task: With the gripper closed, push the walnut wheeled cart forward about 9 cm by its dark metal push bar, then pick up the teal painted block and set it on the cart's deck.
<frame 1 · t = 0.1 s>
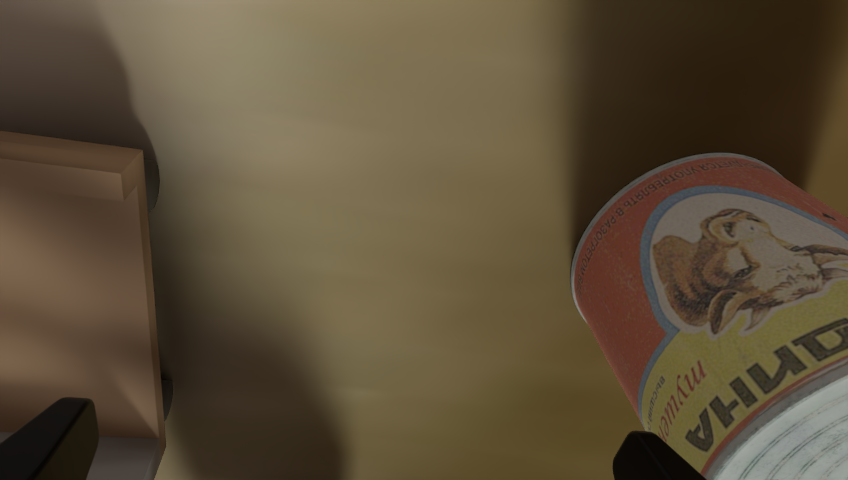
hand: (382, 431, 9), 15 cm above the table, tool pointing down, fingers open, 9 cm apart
canned food: (679, 256, 27), on the table
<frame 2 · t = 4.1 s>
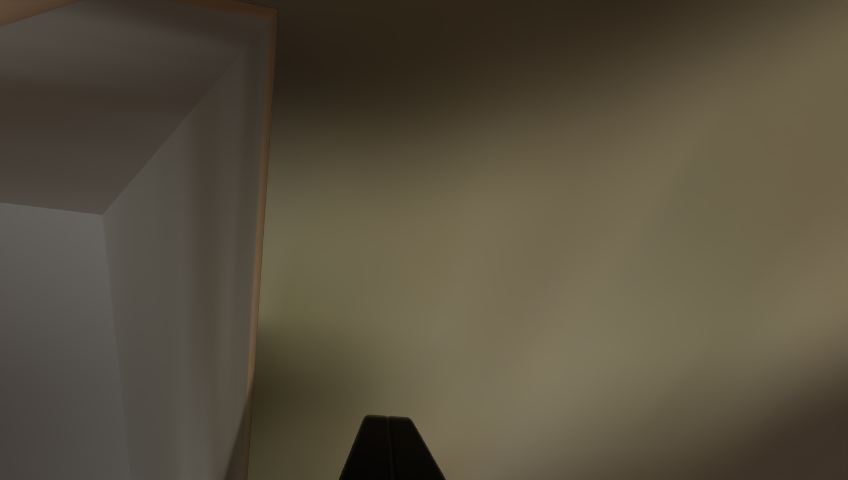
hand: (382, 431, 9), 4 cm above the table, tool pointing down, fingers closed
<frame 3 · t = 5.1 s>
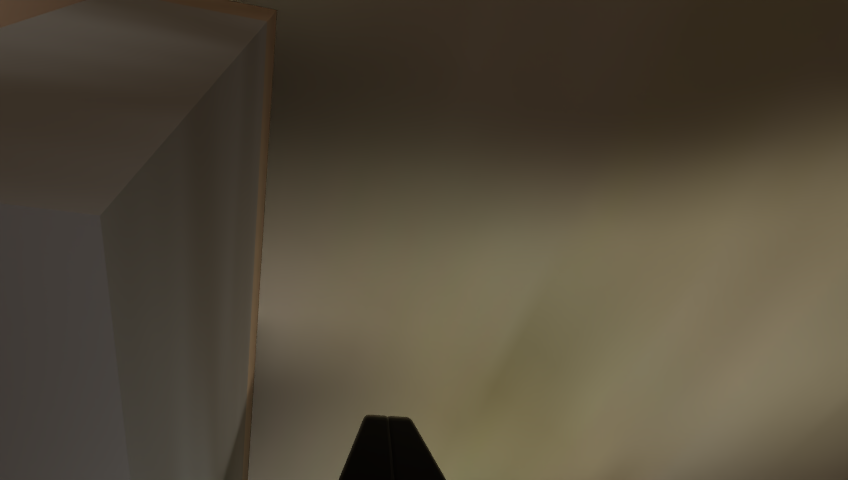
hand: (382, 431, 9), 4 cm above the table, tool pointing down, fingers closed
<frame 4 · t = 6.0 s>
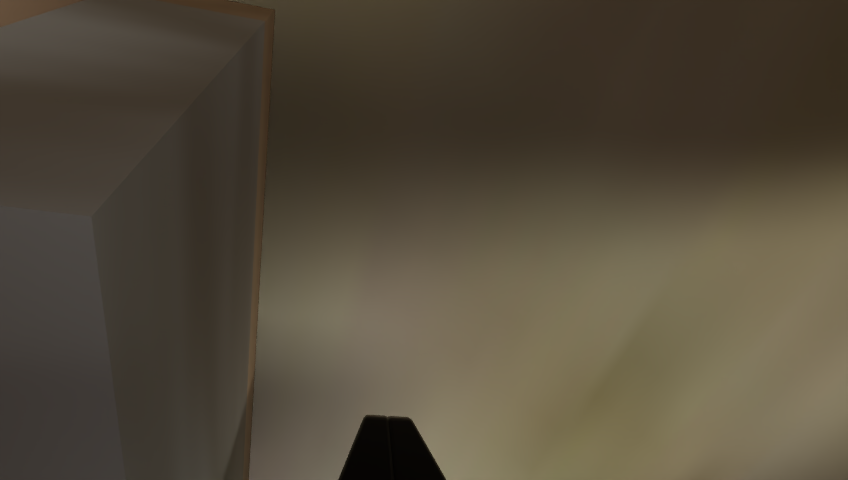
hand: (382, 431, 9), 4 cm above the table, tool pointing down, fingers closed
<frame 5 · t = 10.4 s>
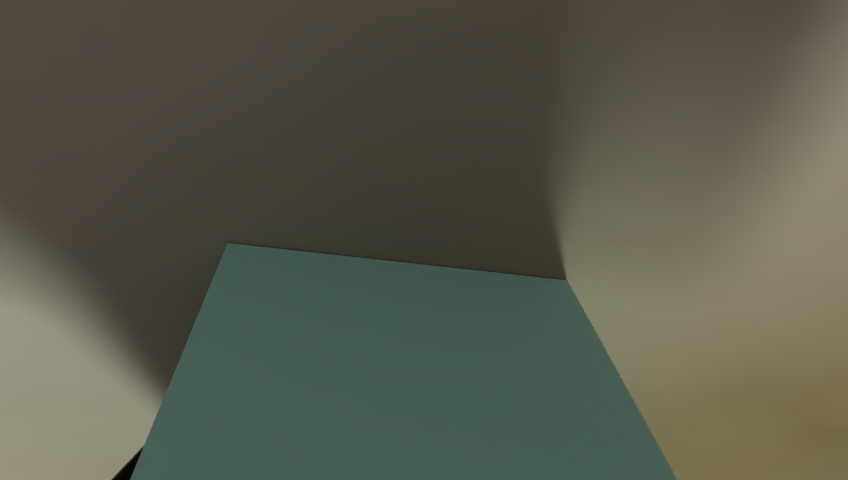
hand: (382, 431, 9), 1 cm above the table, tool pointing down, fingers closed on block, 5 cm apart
block: (381, 384, 10), on the table, touching gripper
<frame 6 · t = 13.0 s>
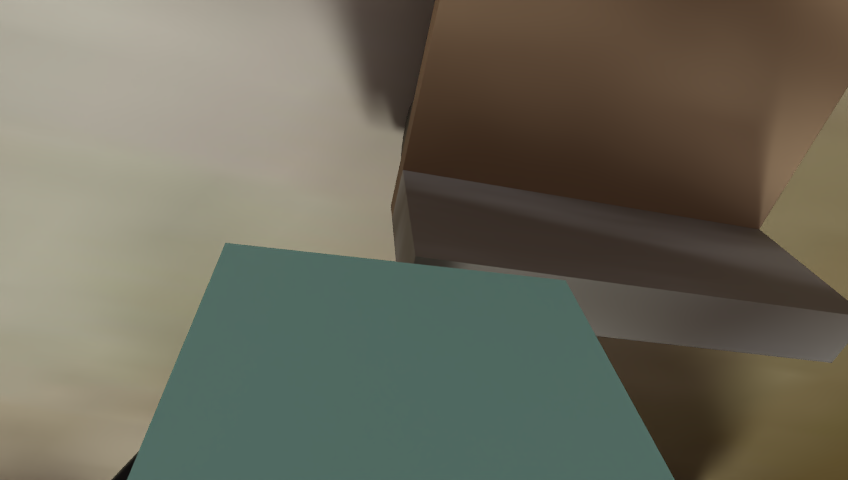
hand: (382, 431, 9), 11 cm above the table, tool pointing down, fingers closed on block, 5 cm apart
block: (379, 384, 10), point 10 cm above the table, touching gripper
when the fingers open (5 cm above the table, at t = 15.6 s): block drops 1 cm, resting on cart.
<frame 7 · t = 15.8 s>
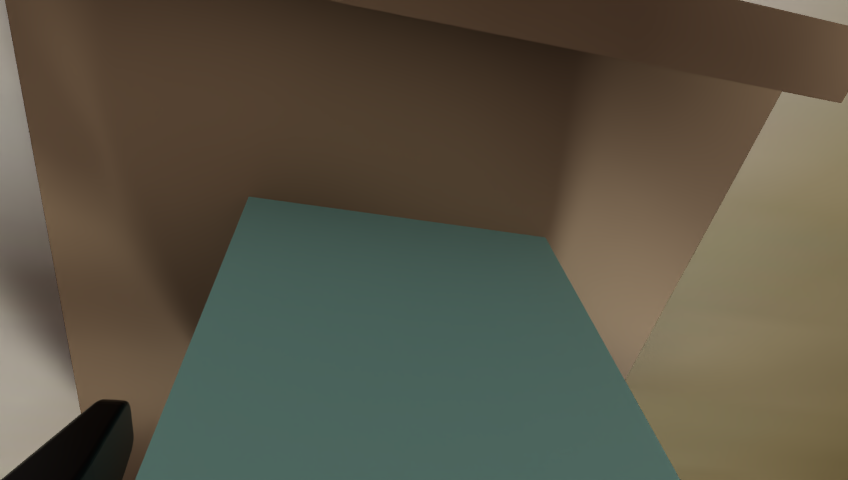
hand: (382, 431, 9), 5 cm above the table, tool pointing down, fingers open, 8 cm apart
block: (380, 332, 11), point 3 cm above the table, touching cart
cart: (374, 384, 11), point 4 cm above the table, slide at 9.3 cm, touching block
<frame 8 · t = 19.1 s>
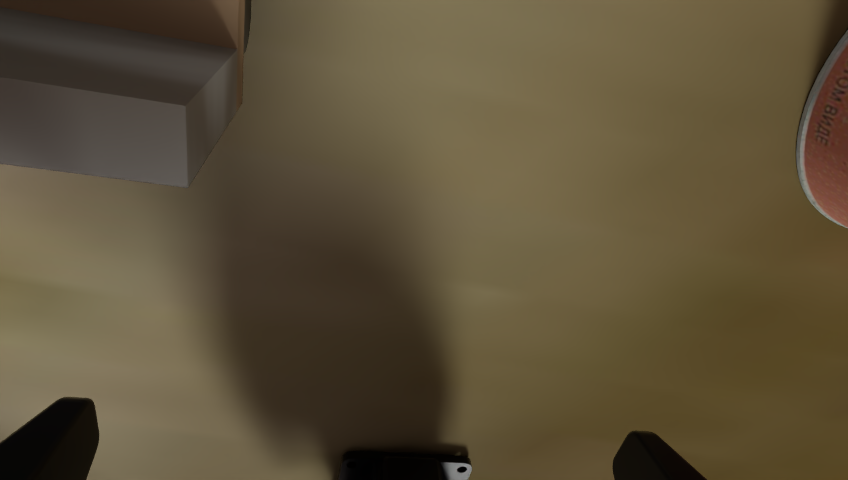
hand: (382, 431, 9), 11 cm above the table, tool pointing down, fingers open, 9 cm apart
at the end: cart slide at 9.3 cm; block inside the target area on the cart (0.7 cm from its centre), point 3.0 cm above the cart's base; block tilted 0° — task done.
